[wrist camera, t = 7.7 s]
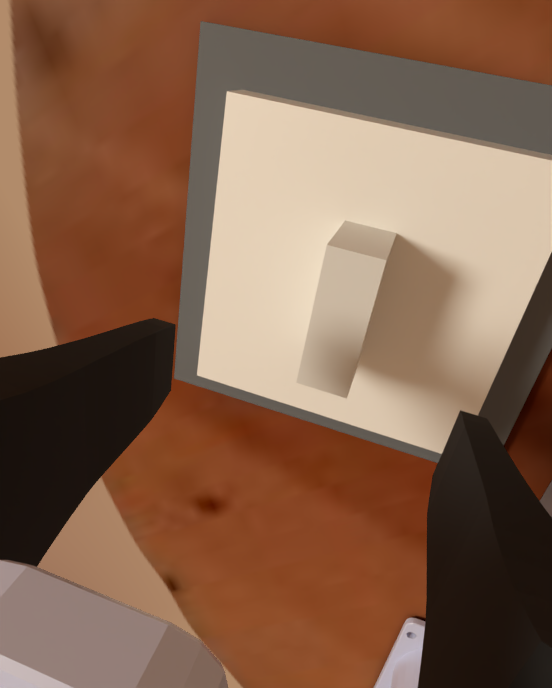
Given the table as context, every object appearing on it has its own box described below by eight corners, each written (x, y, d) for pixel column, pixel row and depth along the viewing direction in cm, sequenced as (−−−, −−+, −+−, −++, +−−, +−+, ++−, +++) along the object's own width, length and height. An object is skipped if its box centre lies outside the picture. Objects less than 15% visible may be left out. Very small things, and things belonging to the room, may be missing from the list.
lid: (458, 435, 22) (458, 512, 18) (211, 358, 24) (164, 413, 20) (578, 160, 17) (615, 188, 13) (243, 89, 19) (187, 94, 15)
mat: (486, 472, 23) (487, 478, 23) (177, 374, 26) (174, 378, 26) (665, 106, 16) (670, 107, 15) (205, 22, 18) (200, 21, 18)
